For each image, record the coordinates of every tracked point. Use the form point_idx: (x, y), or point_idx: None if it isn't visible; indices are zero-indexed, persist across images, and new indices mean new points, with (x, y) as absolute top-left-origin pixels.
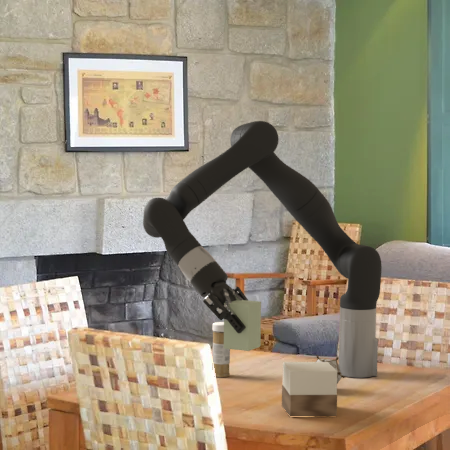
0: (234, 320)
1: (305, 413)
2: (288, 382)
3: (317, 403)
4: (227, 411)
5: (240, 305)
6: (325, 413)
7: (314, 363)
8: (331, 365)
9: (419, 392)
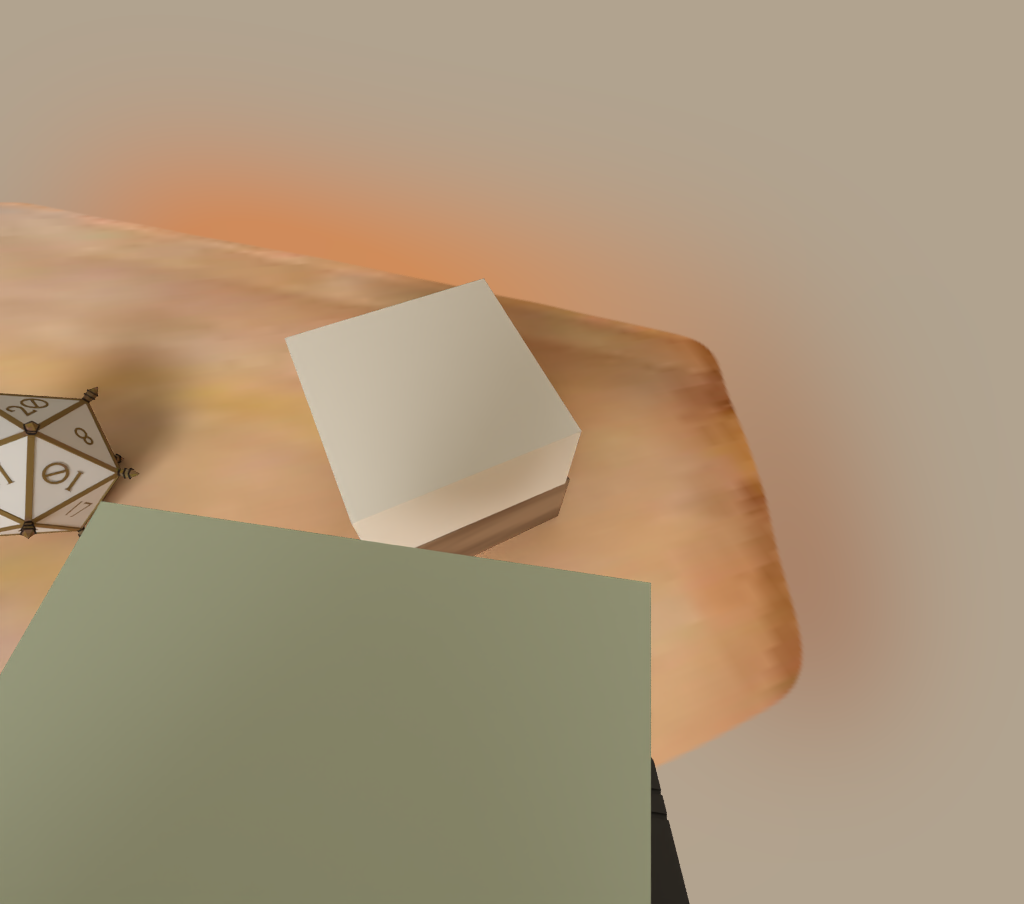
0: (673, 862)
1: None
2: (532, 479)
3: None
4: None
5: (640, 803)
6: None
7: (343, 378)
8: (38, 411)
9: (96, 247)
